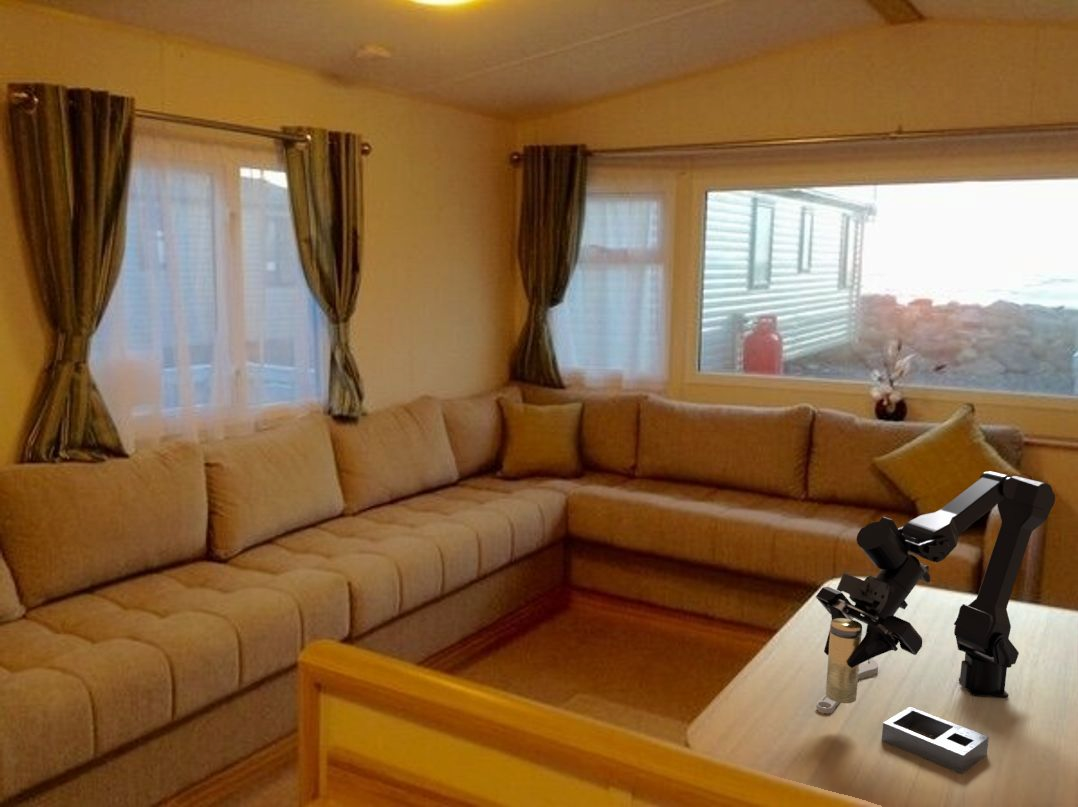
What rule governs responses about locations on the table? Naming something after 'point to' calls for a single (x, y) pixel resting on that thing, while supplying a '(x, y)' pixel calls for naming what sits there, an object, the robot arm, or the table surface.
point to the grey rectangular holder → (949, 747)
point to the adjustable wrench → (863, 672)
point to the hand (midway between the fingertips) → (837, 659)
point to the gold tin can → (842, 660)
